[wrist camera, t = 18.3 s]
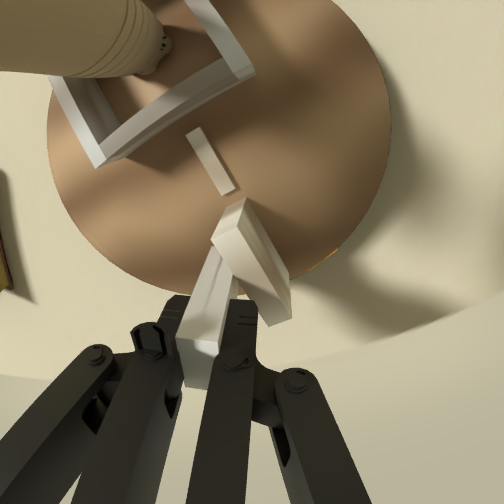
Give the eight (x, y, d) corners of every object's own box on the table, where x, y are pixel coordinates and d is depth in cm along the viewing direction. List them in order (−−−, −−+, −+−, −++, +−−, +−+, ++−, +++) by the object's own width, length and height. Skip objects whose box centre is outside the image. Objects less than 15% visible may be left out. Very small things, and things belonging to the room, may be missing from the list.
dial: (31, 103, 14) (-28, 114, 8) (270, -63, 8) (267, -117, 3) (164, 314, 21) (138, 372, 16) (420, 203, 16) (471, 244, 10)
